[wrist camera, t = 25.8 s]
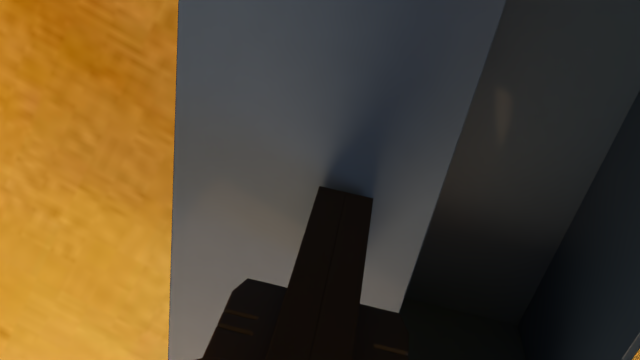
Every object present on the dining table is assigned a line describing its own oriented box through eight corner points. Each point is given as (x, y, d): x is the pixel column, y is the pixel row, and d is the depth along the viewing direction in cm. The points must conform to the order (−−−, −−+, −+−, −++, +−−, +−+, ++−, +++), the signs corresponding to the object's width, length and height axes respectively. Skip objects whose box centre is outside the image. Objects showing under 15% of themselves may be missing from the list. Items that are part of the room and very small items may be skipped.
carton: (537, 330, 26) (656, 754, 13) (229, 256, 27) (63, 591, 14) (752, -63, 17) (1819, 99, 4) (272, -158, 17) (-100, -273, 5)
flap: (357, 429, 19) (356, 436, 19) (170, 379, 20) (167, 386, 20) (542, -112, 10) (545, -112, 10) (188, -181, 11) (183, -183, 10)
